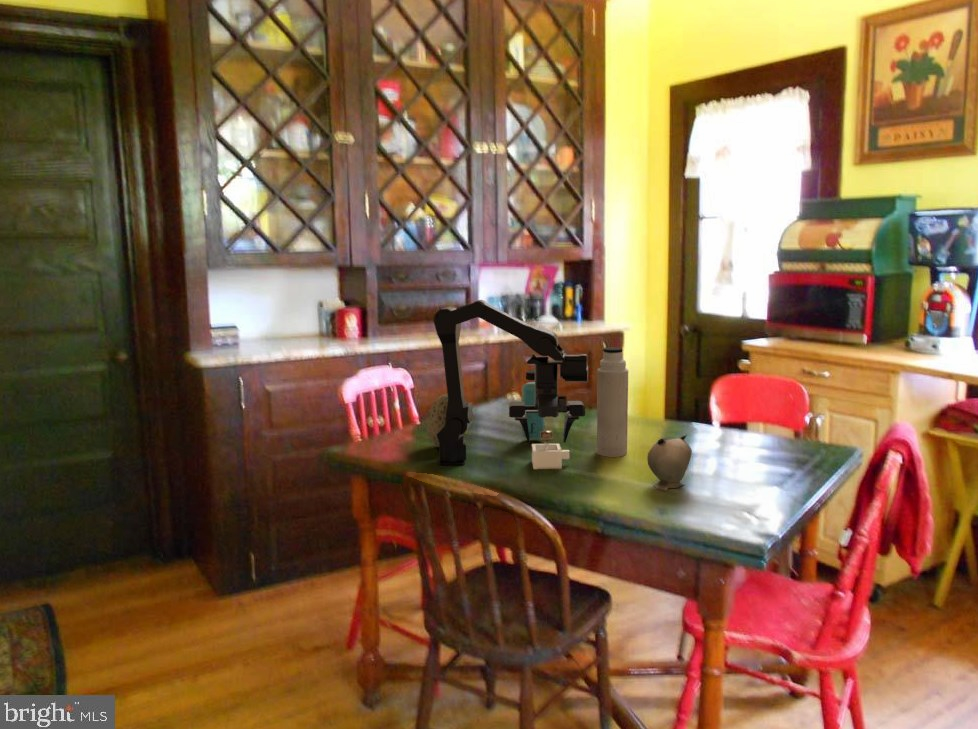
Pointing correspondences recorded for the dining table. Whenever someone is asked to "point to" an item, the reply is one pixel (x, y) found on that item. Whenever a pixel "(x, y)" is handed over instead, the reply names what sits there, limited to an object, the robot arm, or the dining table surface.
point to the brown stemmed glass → (546, 437)
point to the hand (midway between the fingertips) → (546, 442)
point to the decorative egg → (437, 418)
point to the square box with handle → (548, 456)
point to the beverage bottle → (528, 398)
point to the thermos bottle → (612, 404)
